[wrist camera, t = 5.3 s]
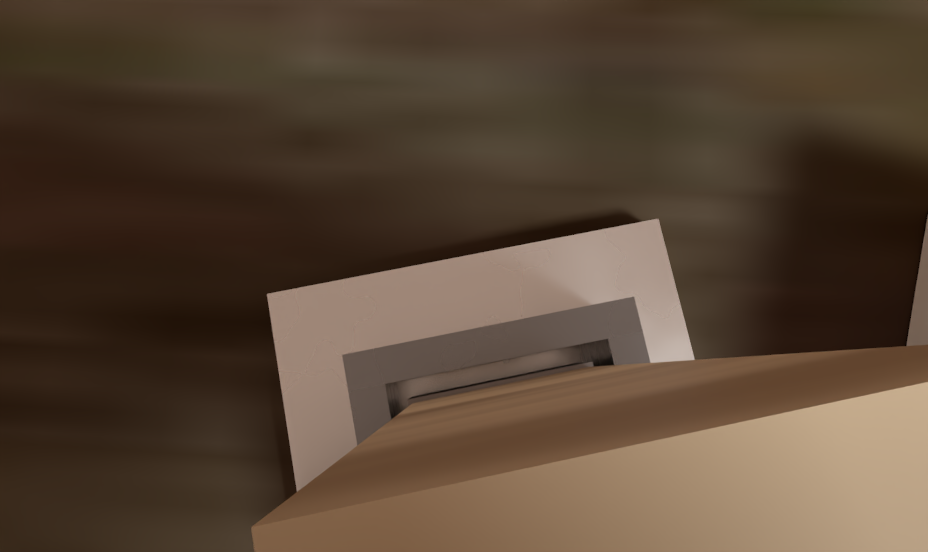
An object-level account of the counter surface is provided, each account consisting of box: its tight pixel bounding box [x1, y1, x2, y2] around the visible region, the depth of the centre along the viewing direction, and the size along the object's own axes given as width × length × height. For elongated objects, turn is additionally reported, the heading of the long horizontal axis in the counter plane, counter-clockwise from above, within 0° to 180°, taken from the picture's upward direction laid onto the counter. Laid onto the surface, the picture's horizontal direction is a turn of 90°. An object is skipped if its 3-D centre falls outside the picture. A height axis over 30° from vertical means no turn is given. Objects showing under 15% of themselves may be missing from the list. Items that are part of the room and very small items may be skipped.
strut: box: [251, 345, 928, 552], centre depth 9 cm, size 4×4×13 cm
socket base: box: [267, 219, 695, 492], centre depth 15 cm, size 11×11×4 cm
